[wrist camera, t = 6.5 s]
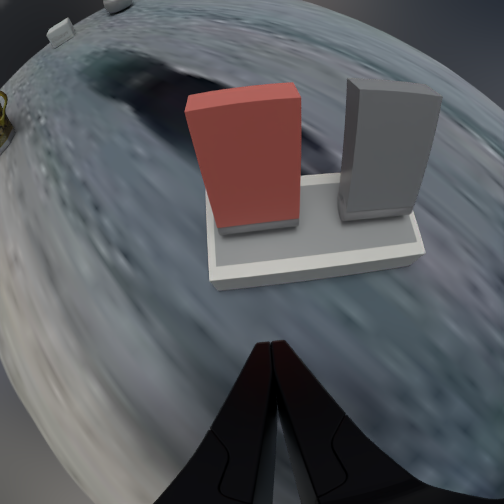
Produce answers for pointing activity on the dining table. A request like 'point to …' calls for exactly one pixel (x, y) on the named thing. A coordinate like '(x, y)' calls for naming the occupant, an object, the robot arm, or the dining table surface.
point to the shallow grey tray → (311, 243)
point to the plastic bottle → (116, 5)
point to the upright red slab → (249, 154)
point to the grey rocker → (385, 146)
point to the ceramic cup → (5, 126)
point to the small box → (61, 33)
